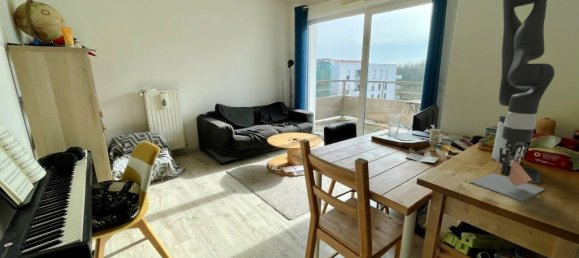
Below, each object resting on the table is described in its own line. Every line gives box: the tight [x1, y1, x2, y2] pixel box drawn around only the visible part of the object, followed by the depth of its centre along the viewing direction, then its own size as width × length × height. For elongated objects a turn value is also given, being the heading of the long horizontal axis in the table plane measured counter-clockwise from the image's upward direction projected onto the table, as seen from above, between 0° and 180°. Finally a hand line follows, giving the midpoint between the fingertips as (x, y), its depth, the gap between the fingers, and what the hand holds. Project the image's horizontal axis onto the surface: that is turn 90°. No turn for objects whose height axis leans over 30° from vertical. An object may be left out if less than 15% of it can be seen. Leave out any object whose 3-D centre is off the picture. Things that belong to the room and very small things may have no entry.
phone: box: [521, 166, 543, 185], centre depth 96 cm, size 8×1×15 cm
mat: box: [469, 172, 546, 202], centre depth 88 cm, size 16×15×1 cm
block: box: [494, 155, 532, 186], centre depth 85 cm, size 4×4×10 cm
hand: (508, 173), depth 87 cm, fingers closed on block, 4 cm apart
